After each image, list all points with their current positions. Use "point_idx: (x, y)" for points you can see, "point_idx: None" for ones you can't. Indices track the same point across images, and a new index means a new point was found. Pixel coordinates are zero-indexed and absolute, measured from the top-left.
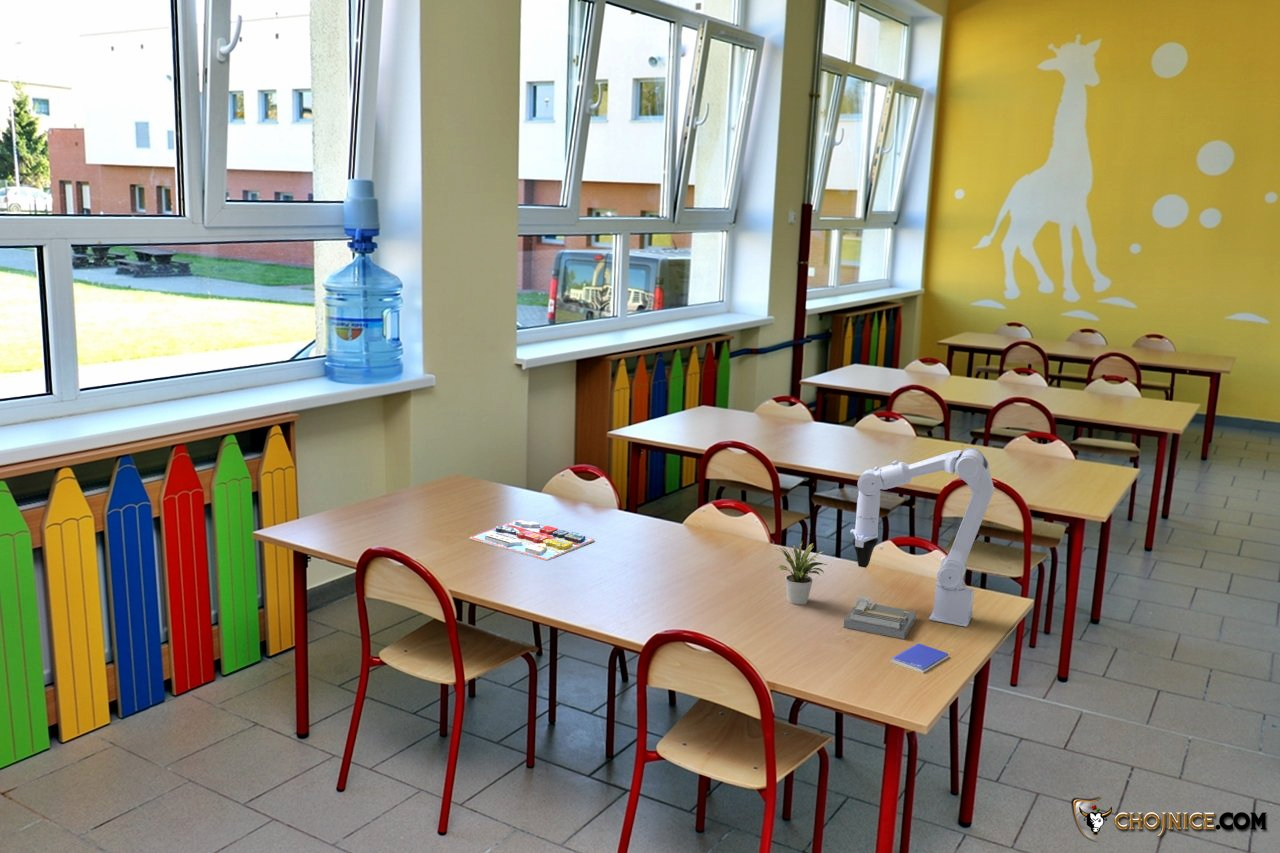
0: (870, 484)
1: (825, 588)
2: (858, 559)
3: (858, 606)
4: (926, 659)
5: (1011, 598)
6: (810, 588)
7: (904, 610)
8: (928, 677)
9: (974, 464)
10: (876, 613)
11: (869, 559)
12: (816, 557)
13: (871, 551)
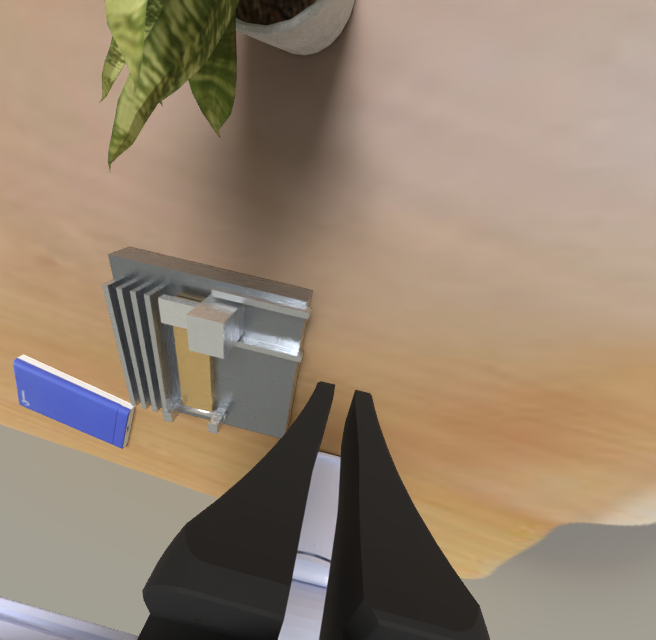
0: None
1: (529, 137)
2: (301, 416)
3: (185, 309)
4: (63, 416)
5: (474, 571)
6: (280, 44)
7: (280, 416)
8: (20, 406)
9: None
10: (196, 354)
11: (341, 467)
12: None
13: (335, 538)
